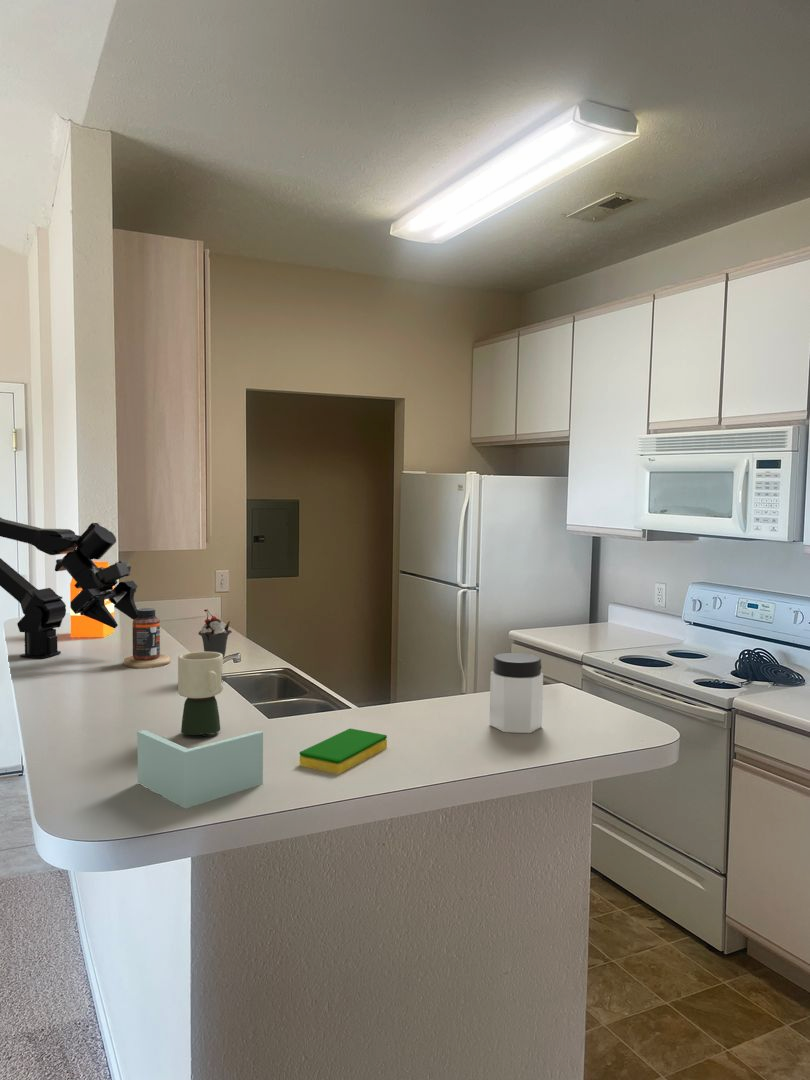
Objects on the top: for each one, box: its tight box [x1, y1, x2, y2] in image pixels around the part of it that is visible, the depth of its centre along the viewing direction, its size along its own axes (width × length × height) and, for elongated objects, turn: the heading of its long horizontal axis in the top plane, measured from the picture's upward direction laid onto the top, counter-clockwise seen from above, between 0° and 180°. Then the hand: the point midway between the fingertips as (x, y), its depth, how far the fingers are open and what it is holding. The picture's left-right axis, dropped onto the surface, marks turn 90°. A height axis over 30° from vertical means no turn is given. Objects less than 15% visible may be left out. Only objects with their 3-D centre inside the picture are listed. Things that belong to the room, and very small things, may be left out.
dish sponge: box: [299, 728, 388, 775], centre depth 120 cm, size 7×14×2 cm, turn 151°
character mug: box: [177, 651, 224, 736], centre depth 130 cm, size 11×7×13 cm, turn 38°
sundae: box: [197, 608, 233, 682], centre depth 167 cm, size 7×7×15 cm
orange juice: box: [69, 561, 115, 638], centre depth 213 cm, size 8×9×20 cm
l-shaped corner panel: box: [136, 729, 264, 809], centre depth 108 cm, size 12×12×8 cm
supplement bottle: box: [131, 607, 161, 660], centre depth 181 cm, size 6×6×11 cm
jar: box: [489, 652, 544, 734], centre depth 136 cm, size 9×8×12 cm
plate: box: [123, 653, 171, 669], centre depth 181 cm, size 10×10×1 cm
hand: (127, 623), depth 182 cm, fingers open, 9 cm apart
